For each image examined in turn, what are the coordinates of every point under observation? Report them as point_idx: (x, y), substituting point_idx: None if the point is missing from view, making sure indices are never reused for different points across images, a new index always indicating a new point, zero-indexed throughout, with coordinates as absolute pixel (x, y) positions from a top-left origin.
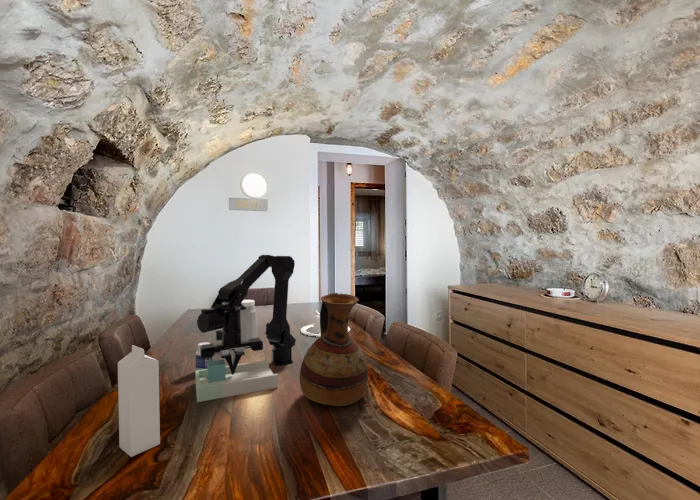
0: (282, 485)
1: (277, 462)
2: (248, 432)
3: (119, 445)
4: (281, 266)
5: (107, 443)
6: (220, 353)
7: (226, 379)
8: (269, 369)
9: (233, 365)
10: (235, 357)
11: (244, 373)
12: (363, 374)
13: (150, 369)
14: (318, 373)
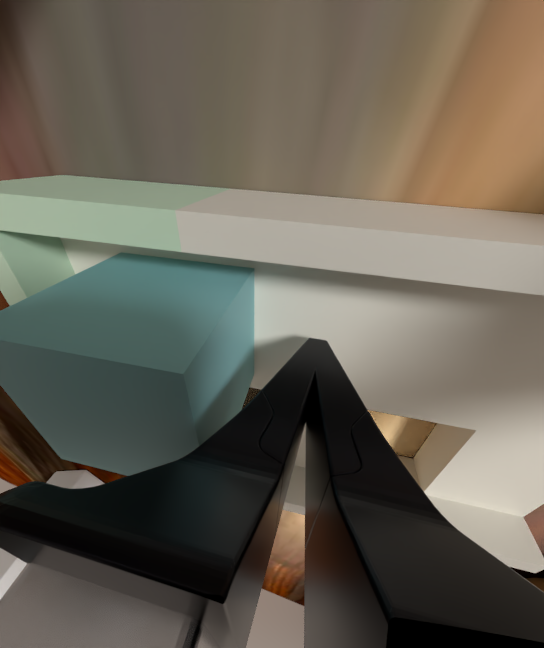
0: (284, 594)
1: (293, 585)
2: (274, 547)
3: (52, 475)
4: None
5: (23, 451)
6: (43, 572)
7: (260, 369)
8: None
9: (306, 451)
10: (308, 616)
11: (427, 340)
12: None
13: None
14: None
